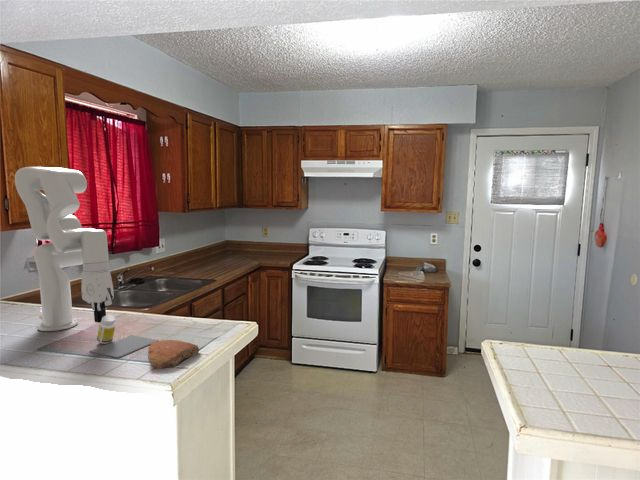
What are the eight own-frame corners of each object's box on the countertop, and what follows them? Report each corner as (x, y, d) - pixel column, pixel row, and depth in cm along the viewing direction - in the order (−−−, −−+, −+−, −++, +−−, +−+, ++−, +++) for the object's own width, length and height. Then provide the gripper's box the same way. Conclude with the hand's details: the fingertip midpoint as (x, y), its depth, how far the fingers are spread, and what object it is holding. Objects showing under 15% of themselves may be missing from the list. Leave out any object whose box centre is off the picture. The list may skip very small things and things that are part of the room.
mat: (89, 352, 131) (89, 350, 131) (131, 336, 145) (131, 335, 145) (118, 358, 126) (118, 357, 126) (158, 341, 140) (158, 340, 140)
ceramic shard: (126, 348, 120) (159, 338, 134) (127, 371, 120) (161, 359, 134) (169, 346, 116) (199, 336, 131) (171, 370, 116) (201, 357, 130)
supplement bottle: (115, 339, 142) (119, 317, 140) (106, 345, 137) (111, 323, 135) (102, 334, 142) (106, 313, 140) (93, 341, 137) (97, 318, 135)
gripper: (70, 267, 137) (75, 322, 139) (102, 270, 131) (106, 327, 133) (91, 264, 144) (95, 316, 146) (122, 266, 138) (126, 320, 139)
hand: (100, 321), depth 139 cm, fingers closed
